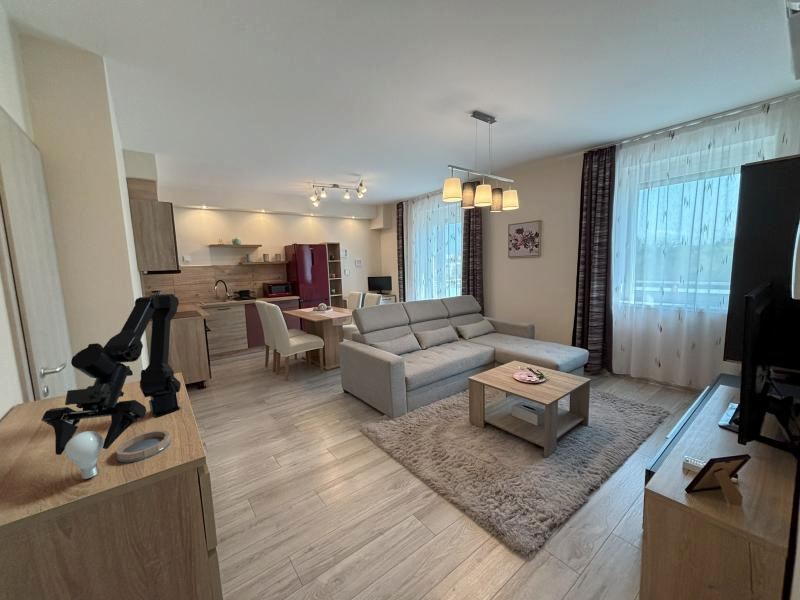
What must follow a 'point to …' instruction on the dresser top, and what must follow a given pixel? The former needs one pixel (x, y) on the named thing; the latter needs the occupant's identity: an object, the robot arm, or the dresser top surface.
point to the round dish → (143, 446)
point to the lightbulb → (85, 452)
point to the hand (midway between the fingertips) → (81, 451)
